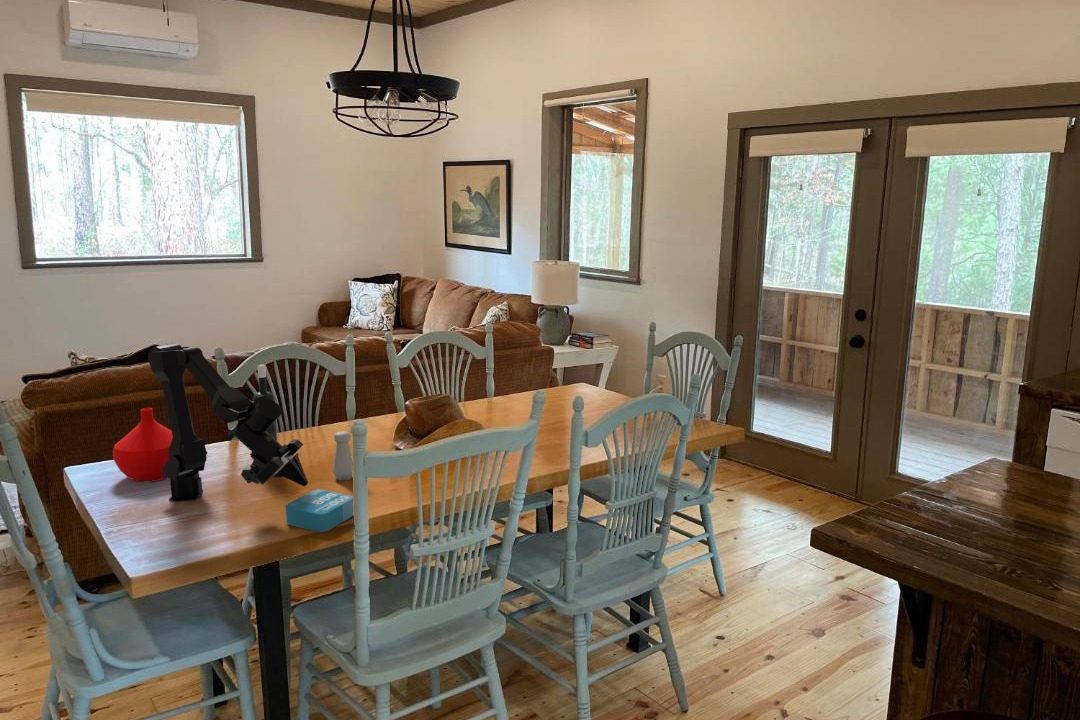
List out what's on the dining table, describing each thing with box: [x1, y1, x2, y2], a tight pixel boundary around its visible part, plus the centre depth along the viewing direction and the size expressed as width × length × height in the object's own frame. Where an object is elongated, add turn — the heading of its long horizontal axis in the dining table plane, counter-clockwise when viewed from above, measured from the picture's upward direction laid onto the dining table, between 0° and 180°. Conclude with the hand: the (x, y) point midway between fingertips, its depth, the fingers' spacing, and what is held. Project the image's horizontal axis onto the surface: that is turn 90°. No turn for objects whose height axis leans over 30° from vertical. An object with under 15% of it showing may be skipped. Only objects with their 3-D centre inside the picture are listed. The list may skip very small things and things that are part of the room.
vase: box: [112, 407, 173, 482], centre depth 222 cm, size 18×18×19 cm
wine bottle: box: [252, 364, 278, 441], centre depth 228 cm, size 6×6×30 cm
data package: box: [285, 489, 354, 533], centre depth 192 cm, size 12×4×12 cm
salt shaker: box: [332, 430, 354, 481], centre depth 221 cm, size 6×6×13 cm
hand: (306, 484), depth 195 cm, fingers closed
